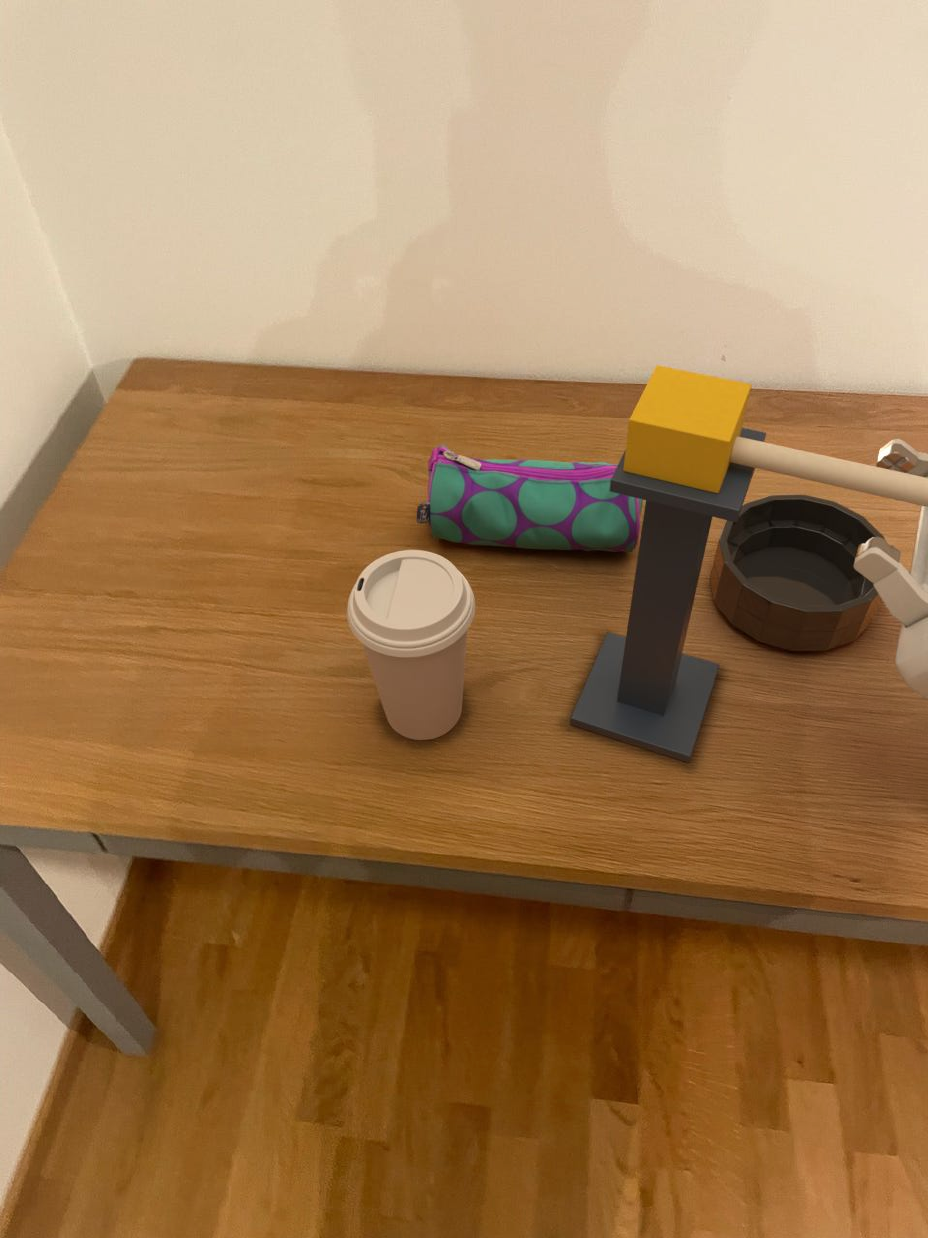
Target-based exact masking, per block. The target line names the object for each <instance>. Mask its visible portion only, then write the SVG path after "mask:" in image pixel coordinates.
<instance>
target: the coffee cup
mask: <svg viewBox="0 0 928 1238" xmlns="http://www.w3.org/2000/svg"><path fill="white" fill-rule="evenodd" d="M347 601H348V602H347V606H346V620H347V623H348V627H349V628H350V631H351V632H352V634H353V635H354V636H355V638H356V639H357V640H358V641H359V642H360V643H361V645H362V649H363V651H364V655H365V657H366V660H367V663H368V667H369V669H370V672H371V675H372V679H373V681H374V684H375V687H376V690H377V693H378V696H379V700H380V703H381V705H382V706H381V707H382V709H383V711H384V714H385V718H386V720H387V723H388V724H389V726H390V727H391V728H392V729H393V730H394V731H395V733H397V734H399V735H400V736H402V737H404V738H405V739H406V738H407V739H410V740H413V741H414V740H415V741H429V740H433V739H437V738H440V737H442V736H444V735H446V734H448V733H449V732H450V731H451V730H452V729H453V728H454V727H455V726H456V725H457V723H458V722H459V720H460V718H461V715H462V712H463V711H462V710H463V699H464V698H463V697H464V682H465V671H466V670H465V669H466V655H467V644H468V643H467V641H468V630H469V628H470V626H471V624H472V622H473V620H474V618H475V613H476V599H475V595H474V591H473V589H472V587H471V585H470V583H469V581H468V580H467V579H466V577H465V576H464V575H463V573H462V572H461V571H460V570H459V569H458V568H457V567H456V566H455V565H454V563H452V561H450V560H448V559H447V558H445V556H442V555H440V554H438V553H435V552H432V551H427V550H421V549H404V550H398V551H393V552H390V553H388V554H385V555H383V556H380V557H378V558H376V559H375V560H374V561H372V562H371V563H370V564H368V565H367V566H366V567H365V568H364V569H363V570H362V572H361V573H360V574H359V576H358V577H357V580H356V582H355V584H354V585H353V587H352V589H351V592H350V594H349V597H348V600H347Z"/></svg>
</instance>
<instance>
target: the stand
mask: <svg viewBox="0 0 928 1238" xmlns="http://www.w3.org/2000/svg"><path fill="white" fill-rule="evenodd" d="M740 437H742V438H747V439H751V440H756V441H761V442H766V437H767V432H765V431H762V430H761V431H760V430H756V429H752V428H747V427H743V426H742V430H741V434H740ZM625 451H626V448H625V450H624V452H623V453H622V455H621V457H620V459H619V461H618V463H617V465H618V466H617V468H616V470H615V472H614V474H613V476H612V478H611V480H610V490H609V491H610V492H614V493H618V494H622V495H626V496H630V497H634V498H638V499H643V501H645V504H644V511H643V518H642V524H641V525H642V526H641V531H640V539H639V547H638V551H637V552H638V553H637V559H636V566H635V573H634V580H633V586H632V593H631V601H630V607H629V615H628V622H627V629H626V636H623V635H620V634H616V633H613V632H610V631H607V632H606V634H605V637H604V639H603V641H602V644H601V646H600V648H599V651H598V653H597V655H596V657H595V660H594V662H593V664H592V667H591V669H590V672H589V674H588V676H587V679H586V681H585V683H584V685H583V688H582V690H581V692H580V695H579V697H578V700H577V702H576V704H575V707H574V709H573V712H572V714H571V716H570V723H569V725H571V726H573V727H577V728H580V729H582V730H586V731H589V732H592V733H594V734H598V735H601V736H605V737H608V738H609V739H610V738H611V739H613V740H617V741H620V742H623V743H626V744H629V745H631V746H635V747H638V748H642V749H644V750H647V751H651V752H654V753H657V754H660V755H663V756H666V757H669V758H672V759H675V760H678V761H681V762H684V763H687V764H689V763H690V761H691V758H692V755H693V751H694V749H695V746H696V743H697V738H698V736H699V733H700V729H701V727H702V724H703V720H704V717H705V714H706V710H707V707H708V705H709V701H710V698H711V694H712V692H713V689H714V685H715V682H716V679H717V676H718V673H719V669H720V663H716V662H713V661H710V660H706V659H703V658H699V657H696V656H693V655H688V654H685V653H683V651H684V647H685V644H686V638H687V633H688V630H689V626H690V625H689V624H690V620H691V615H692V611H693V606H694V602H695V597H696V593H697V588H698V584H699V579H700V575H701V570H702V566H703V562H704V557H705V552H706V548H707V543H708V539H709V535H710V530H711V525H712V521H713V518H716V519H720V520H725V521H726V520H728V521H732V522H737V520H738V517H739V514H740V511H741V508H742V505H743V504H744V503H745V499H746V496H747V493H748V491H749V488H750V485H751V482H752V479H753V477H754V474H755V470H756V468H754V467H749V466H745V465H740V464H736V463H732V462H730V464H729V467H728V469H727V472H726V475H725V477H724V480H723V483H722V486H721V488H720V491H719V493H713V492H709V491H705V490H701V489H697V488H692V487H688V486H684V485H680V484H676V483H671V482H667V481H663V480H659V479H655V478H650V477H646V476H642V475H638V474H634V473H629V472H625V471H624V470H623V469H624V460H625Z"/></svg>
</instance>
